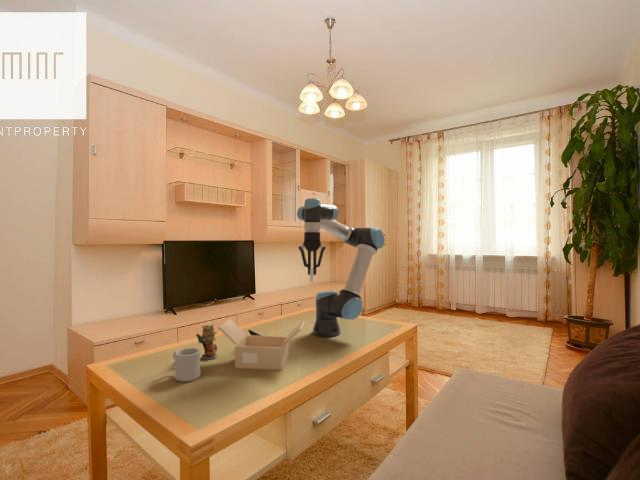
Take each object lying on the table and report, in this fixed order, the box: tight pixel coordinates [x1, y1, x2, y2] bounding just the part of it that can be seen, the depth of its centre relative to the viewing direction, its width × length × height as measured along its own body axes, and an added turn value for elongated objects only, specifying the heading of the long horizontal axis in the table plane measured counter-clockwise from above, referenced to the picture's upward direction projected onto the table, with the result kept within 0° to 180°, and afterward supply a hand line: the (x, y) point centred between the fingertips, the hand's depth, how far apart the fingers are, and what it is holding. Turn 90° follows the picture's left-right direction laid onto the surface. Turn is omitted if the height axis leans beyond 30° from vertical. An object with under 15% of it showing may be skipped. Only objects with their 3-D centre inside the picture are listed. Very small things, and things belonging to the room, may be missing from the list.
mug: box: [172, 347, 202, 383], centre depth 128 cm, size 12×9×10 cm
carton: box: [234, 334, 289, 371], centre depth 143 cm, size 15×19×9 cm
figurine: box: [196, 324, 218, 361], centre depth 148 cm, size 9×8×15 cm
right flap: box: [282, 320, 306, 346], centre depth 142 cm, size 13×1×10 cm
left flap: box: [217, 318, 247, 345], centre depth 144 cm, size 13×1×10 cm
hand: (312, 281), depth 158 cm, fingers closed
